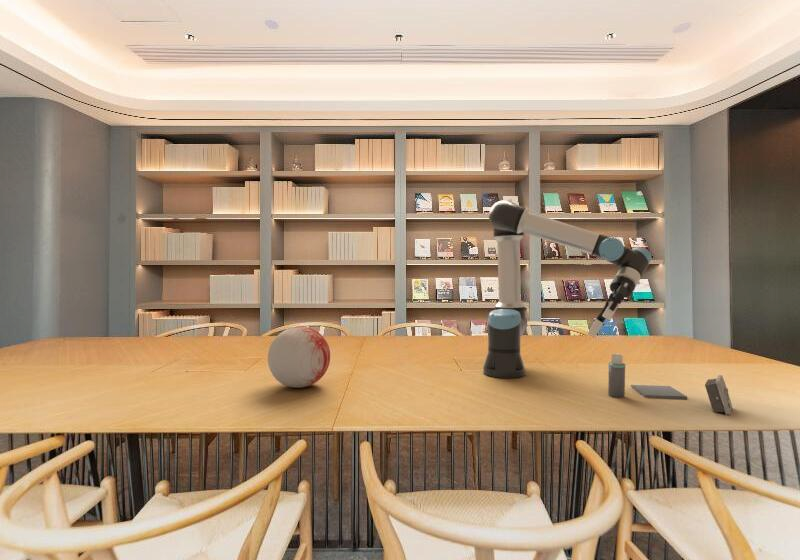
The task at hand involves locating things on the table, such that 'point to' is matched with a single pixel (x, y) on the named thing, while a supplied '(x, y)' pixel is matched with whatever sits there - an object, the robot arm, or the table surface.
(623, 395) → the trash can
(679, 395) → the pad
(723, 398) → the electrical switch
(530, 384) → the table surface
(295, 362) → the decorative orb
